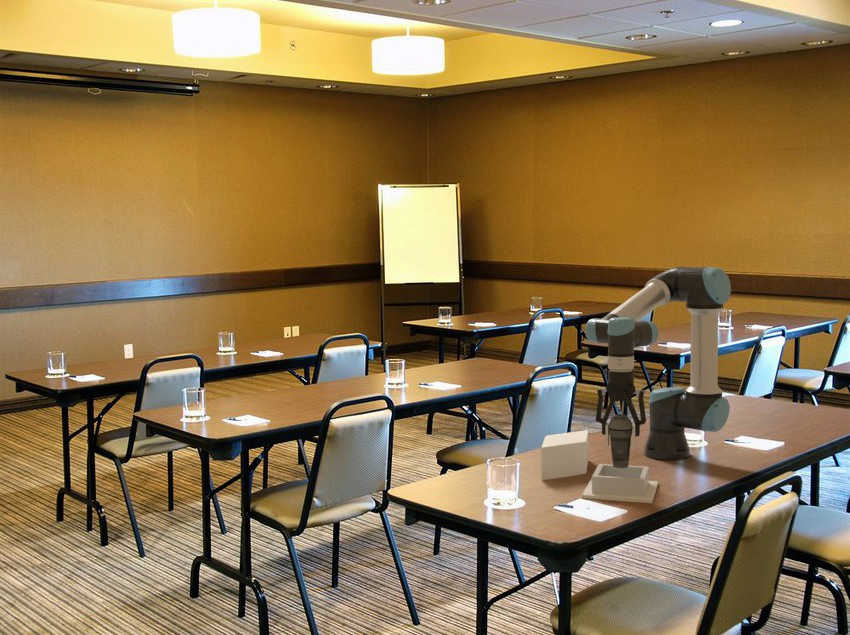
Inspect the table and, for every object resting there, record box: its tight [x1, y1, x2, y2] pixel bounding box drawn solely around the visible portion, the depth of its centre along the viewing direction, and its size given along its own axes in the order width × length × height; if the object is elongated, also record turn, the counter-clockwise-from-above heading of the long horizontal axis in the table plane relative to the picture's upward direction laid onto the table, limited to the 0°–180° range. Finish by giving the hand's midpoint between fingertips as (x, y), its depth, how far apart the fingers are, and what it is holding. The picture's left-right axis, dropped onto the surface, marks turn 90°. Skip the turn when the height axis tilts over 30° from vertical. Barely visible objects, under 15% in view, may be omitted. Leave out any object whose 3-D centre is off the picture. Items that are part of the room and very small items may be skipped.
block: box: [540, 429, 589, 481], centre depth 305 cm, size 15×30×11 cm, turn 141°
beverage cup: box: [608, 401, 633, 468], centre depth 278 cm, size 7×7×20 cm
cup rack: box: [581, 463, 659, 504], centre depth 280 cm, size 20×20×6 cm
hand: (620, 446), depth 279 cm, fingers closed on beverage cup, 7 cm apart
